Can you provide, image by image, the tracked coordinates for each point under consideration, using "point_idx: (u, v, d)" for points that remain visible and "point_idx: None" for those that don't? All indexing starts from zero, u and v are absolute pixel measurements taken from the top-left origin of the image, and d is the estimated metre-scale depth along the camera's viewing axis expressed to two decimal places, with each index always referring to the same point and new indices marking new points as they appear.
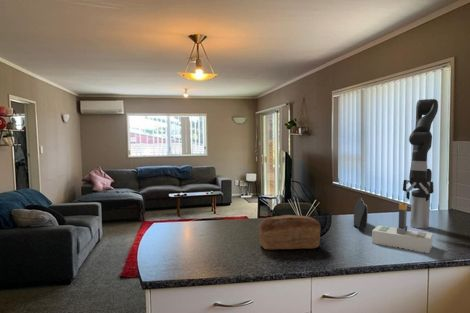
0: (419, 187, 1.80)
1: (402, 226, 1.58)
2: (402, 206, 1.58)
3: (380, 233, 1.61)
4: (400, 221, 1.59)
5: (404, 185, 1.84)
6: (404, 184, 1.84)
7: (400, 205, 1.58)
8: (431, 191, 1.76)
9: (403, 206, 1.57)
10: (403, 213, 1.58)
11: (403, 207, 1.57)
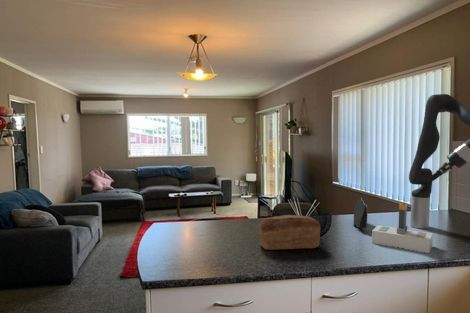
0: None
1: (402, 226, 1.58)
2: (402, 206, 1.58)
3: (380, 233, 1.61)
4: (400, 221, 1.59)
5: (445, 171, 1.53)
6: (446, 170, 1.53)
7: (400, 205, 1.58)
8: None
9: (403, 206, 1.57)
10: (403, 213, 1.58)
11: (403, 207, 1.57)
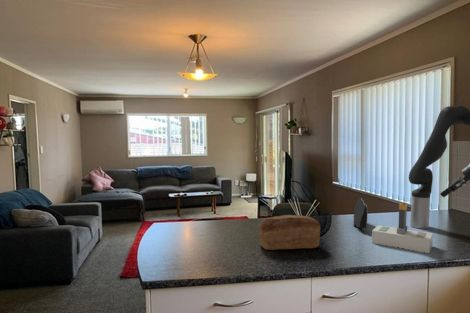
0: (461, 184, 1.46)
1: (402, 226, 1.58)
2: (402, 206, 1.58)
3: (380, 233, 1.61)
4: (400, 221, 1.59)
5: (457, 189, 1.44)
6: (457, 188, 1.43)
7: (400, 205, 1.58)
8: None
9: (403, 206, 1.57)
10: (403, 213, 1.58)
11: (403, 207, 1.57)
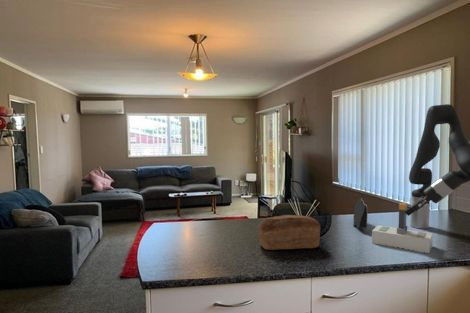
0: None
1: (402, 226, 1.58)
2: (402, 206, 1.58)
3: (380, 233, 1.61)
4: (400, 221, 1.59)
5: (419, 208, 1.52)
6: (420, 208, 1.52)
7: (400, 205, 1.58)
8: None
9: (403, 206, 1.57)
10: (403, 213, 1.58)
11: (403, 207, 1.57)
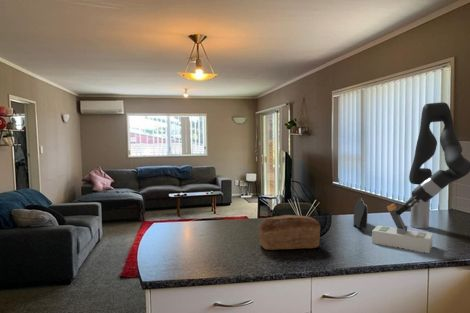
0: None
1: (400, 226, 1.59)
2: (390, 207, 1.61)
3: (380, 233, 1.61)
4: (396, 222, 1.60)
5: (409, 207, 1.55)
6: (410, 207, 1.54)
7: (388, 207, 1.61)
8: None
9: (391, 207, 1.61)
10: (394, 213, 1.60)
11: (391, 207, 1.60)
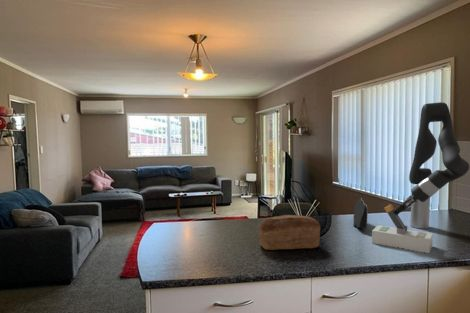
0: None
1: (399, 226, 1.59)
2: (388, 208, 1.61)
3: (380, 233, 1.61)
4: (395, 222, 1.60)
5: (407, 207, 1.55)
6: (407, 207, 1.55)
7: (385, 208, 1.62)
8: None
9: (388, 207, 1.61)
10: (392, 214, 1.60)
11: (389, 208, 1.61)
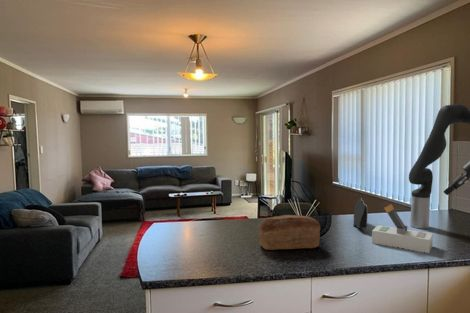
0: (464, 181, 1.46)
1: (399, 226, 1.59)
2: (388, 208, 1.61)
3: (380, 233, 1.61)
4: (395, 222, 1.60)
5: (460, 186, 1.44)
6: (460, 185, 1.43)
7: (385, 208, 1.62)
8: None
9: (388, 207, 1.61)
10: (392, 214, 1.60)
11: (389, 208, 1.61)
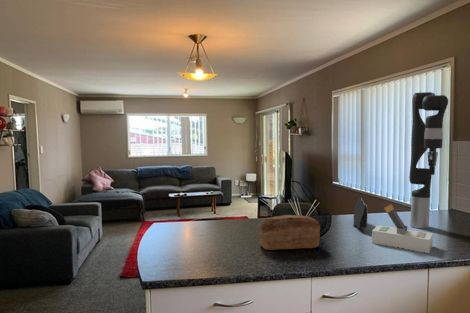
0: (435, 156, 1.60)
1: (399, 226, 1.59)
2: (388, 208, 1.61)
3: (380, 233, 1.61)
4: (395, 222, 1.60)
5: (434, 160, 1.58)
6: (434, 160, 1.57)
7: (385, 208, 1.62)
8: (435, 163, 1.63)
9: (388, 207, 1.61)
10: (392, 214, 1.60)
11: (389, 208, 1.61)
